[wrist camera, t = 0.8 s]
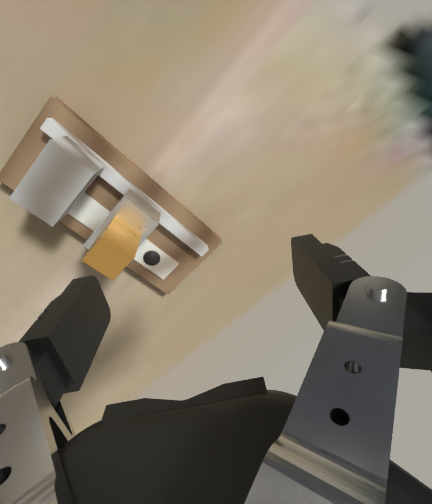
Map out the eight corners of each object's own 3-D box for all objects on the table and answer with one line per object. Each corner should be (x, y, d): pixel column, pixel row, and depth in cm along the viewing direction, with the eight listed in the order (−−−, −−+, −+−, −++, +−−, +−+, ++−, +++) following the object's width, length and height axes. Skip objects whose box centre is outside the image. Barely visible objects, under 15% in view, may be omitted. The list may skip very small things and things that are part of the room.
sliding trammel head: (94, 229, 31) (65, 269, 23) (131, 185, 29) (113, 213, 21) (125, 250, 32) (107, 294, 24) (161, 210, 30) (154, 244, 23)
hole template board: (4, 175, 29) (-40, 191, 23) (56, 97, 26) (22, 94, 21) (168, 288, 38) (166, 320, 32) (220, 237, 35) (227, 262, 29)
